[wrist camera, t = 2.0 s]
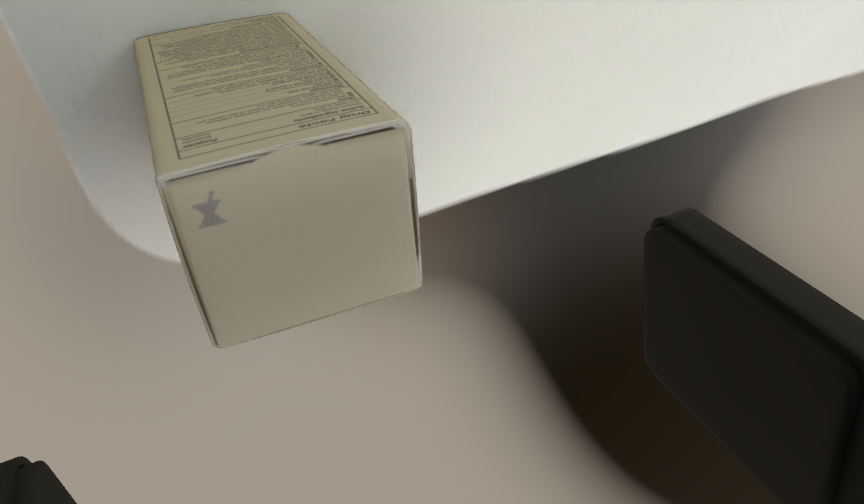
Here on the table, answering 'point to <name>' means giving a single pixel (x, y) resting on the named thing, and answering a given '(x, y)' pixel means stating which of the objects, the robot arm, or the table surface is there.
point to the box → (277, 176)
